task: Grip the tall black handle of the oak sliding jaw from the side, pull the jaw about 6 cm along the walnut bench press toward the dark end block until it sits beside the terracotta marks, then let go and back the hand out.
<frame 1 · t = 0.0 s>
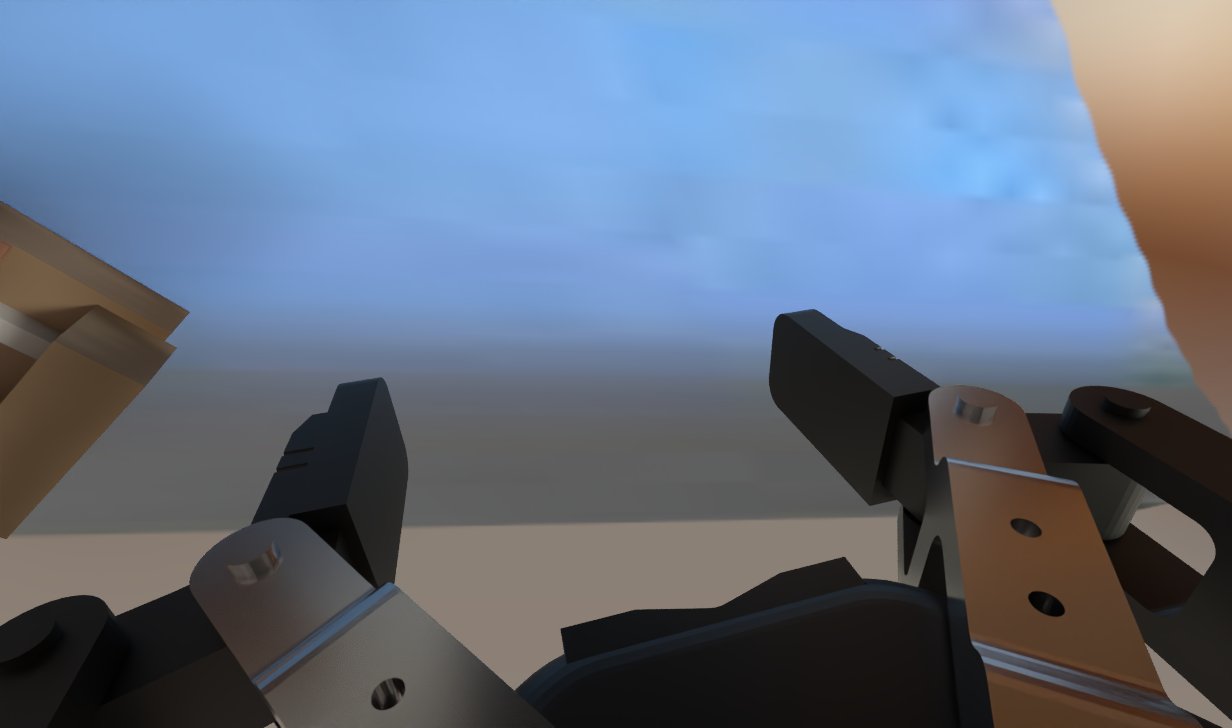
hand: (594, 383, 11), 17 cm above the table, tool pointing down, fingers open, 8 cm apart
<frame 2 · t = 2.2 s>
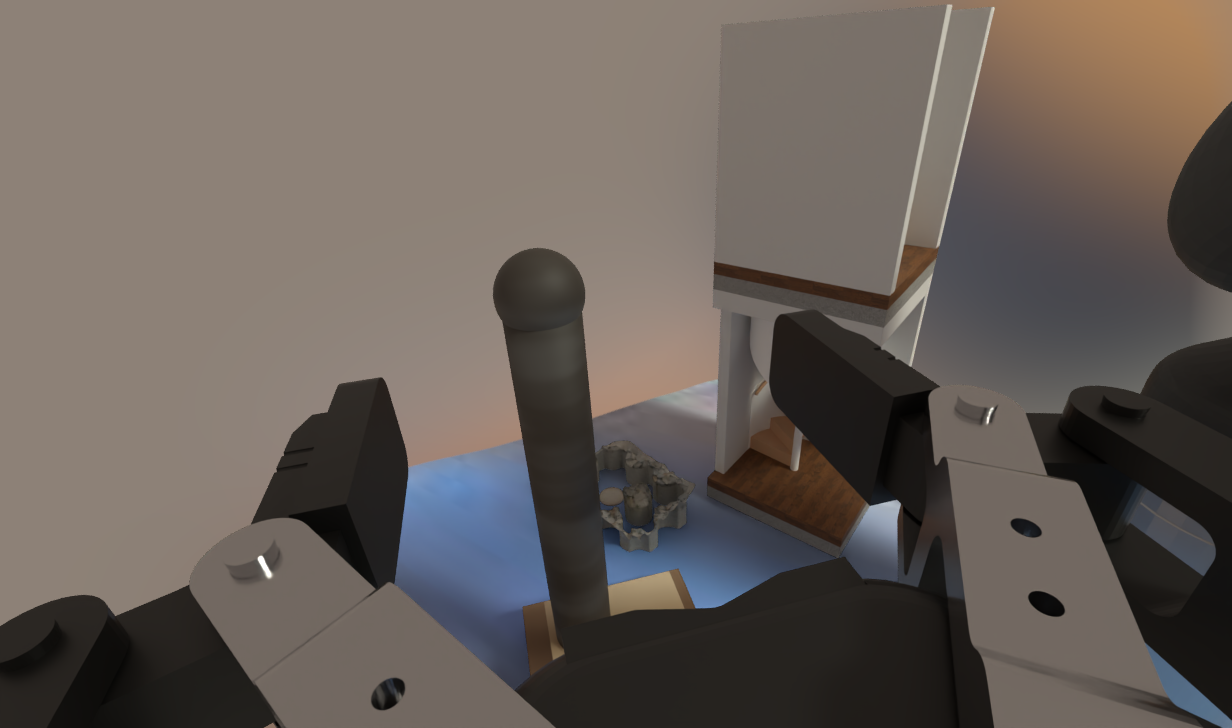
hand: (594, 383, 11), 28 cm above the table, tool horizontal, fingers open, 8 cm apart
display case: (795, 490, 49), on the table
egg carton: (626, 508, 48), on the table
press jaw: (606, 486, 27), point 15 cm above the table, slide at 0.0 cm
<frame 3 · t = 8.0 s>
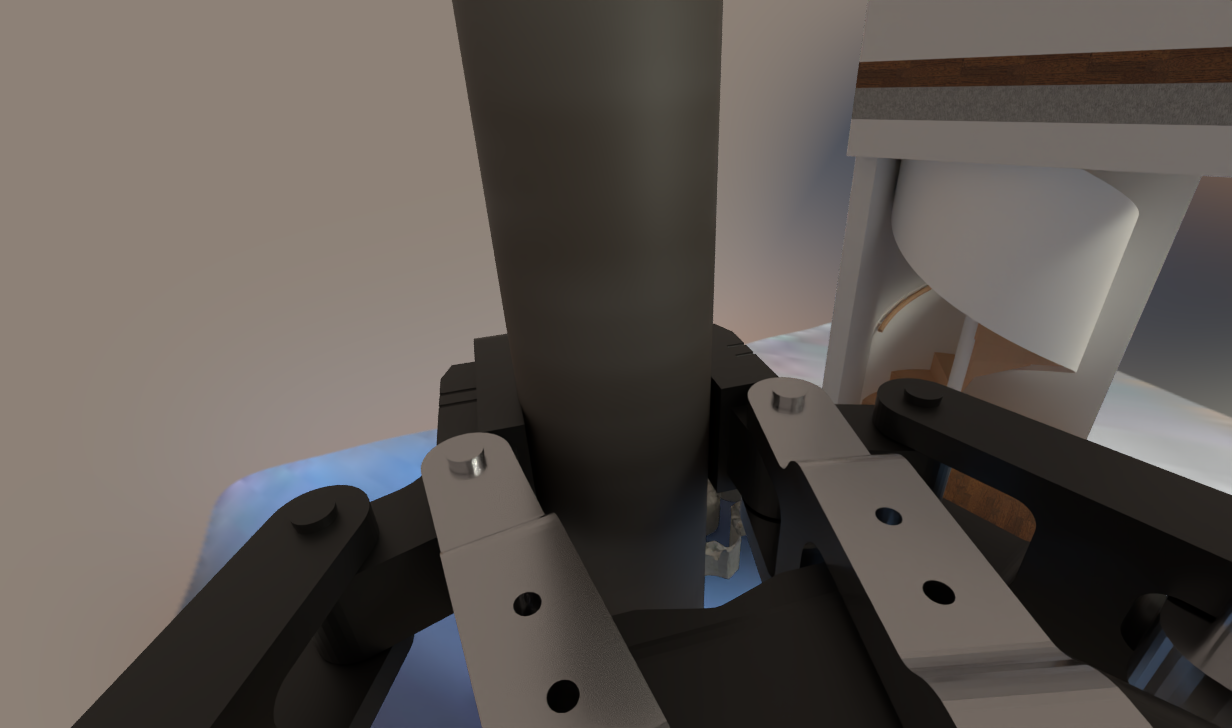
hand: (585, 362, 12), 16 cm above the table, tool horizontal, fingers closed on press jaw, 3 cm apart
display case: (936, 480, 32), on the table
egg carton: (674, 510, 31), on the table
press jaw: (721, 442, 11), point 15 cm above the table, slide at 0.0 cm, touching gripper
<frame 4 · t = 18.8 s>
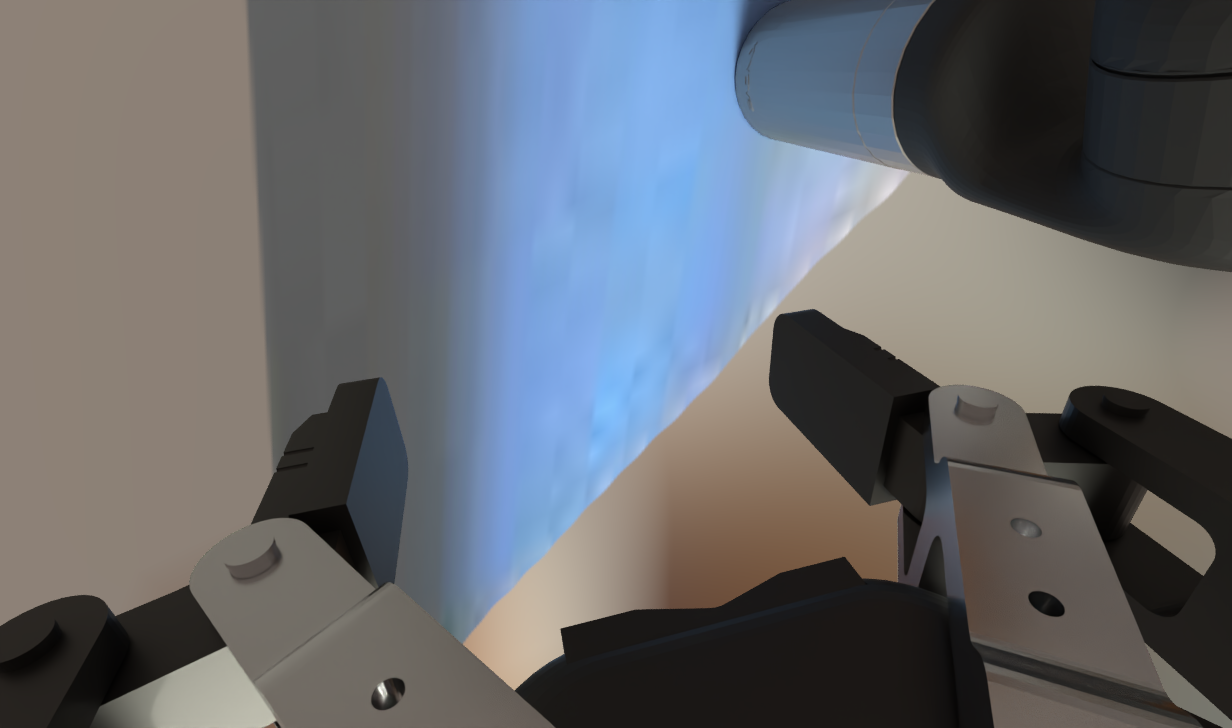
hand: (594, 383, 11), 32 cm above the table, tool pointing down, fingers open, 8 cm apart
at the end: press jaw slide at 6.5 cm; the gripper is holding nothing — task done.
